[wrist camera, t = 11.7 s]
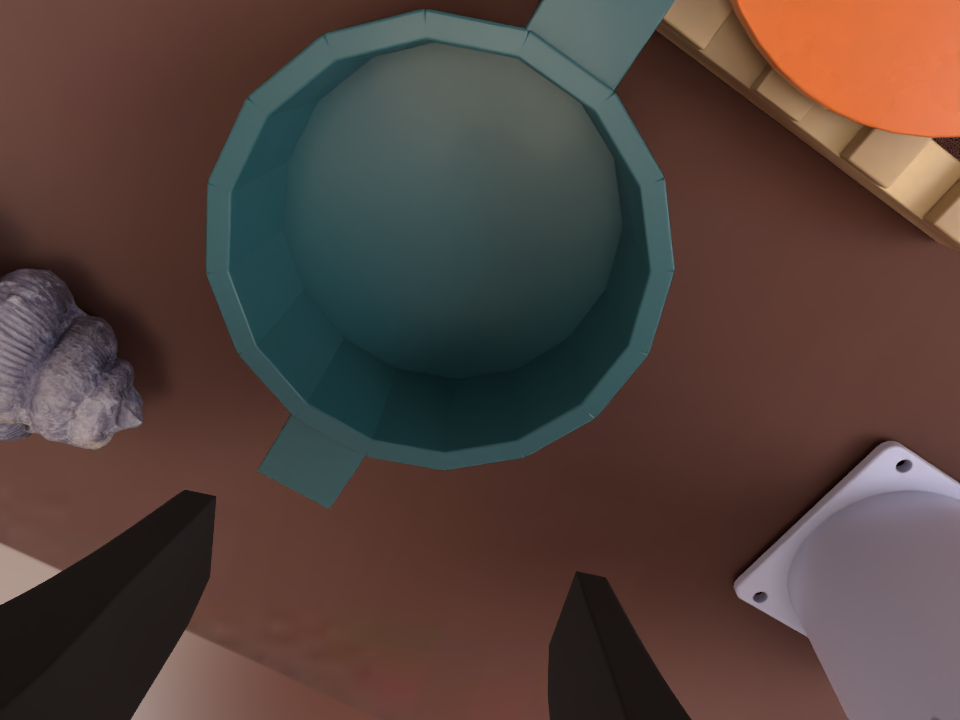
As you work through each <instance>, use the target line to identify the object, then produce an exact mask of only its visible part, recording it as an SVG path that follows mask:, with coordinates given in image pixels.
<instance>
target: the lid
mask: <svg viewBox="0 0 960 720" xmlns="http://www.w3.org/2000/svg"><path fill="white" fill-rule="evenodd" d="M730 2H731V5H732V7H733V9H734V12H735V14H736V16H737V18H738V19H739V21H740V23H741V24H742V26H743V28H744V29H745V31H746V33H747V35H748V36H749V38H750V40H751V41H752V43H753V45H754V46H755V47H756V48H757V49H758V51H759V52H760V53H761V54H762V56H763V57H764V58H765V59H766V61H767V62H768V63H769V64H770V65H771V67H772V68H773V69H774V70H775V71H776V72H777V73H778V74H779V75H780V76H781V77H782V78H784V79H785V80H786V81H787V82H788V83H789V84H790V85H791V86H792V87H794V88H795V89H796V90H797V91H798V92H799V93H801V94H802V95H804V96H805V97H807V98H808V99H810V100H812V101H813V102H815V103H816V104H818V105H819V106H821V107H822V108H824V109H825V110H827V111H830V112H832V113H834V114H836V115H839V116H841V117H843V118H845V119H848V120H850V121H852V122H854V123H858V124H861V125H865V126H868V127H872V128H876V129H879V130H883V131H887V132H891V133H895V134H903V135H911V136H919V137H927V138H936V137H960V0H730Z"/></svg>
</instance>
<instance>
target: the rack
mask: <svg viewBox="0 0 960 720" xmlns="http://www.w3.org/2000/svg"><path fill="white" fill-rule="evenodd" d="M656 31H657V32H659V33H660V34H661V35H663V36H664V37H665V38H667V39H668V40H669V41H671V42H672V43H673V44H675V45H676V46H677V47H679V48H680V49H681V50H683V51H684V52H685V53H687V54H688V55H689V56H691V57H692V58H693V59H695V60H696V61H697V62H699V63H700V64H701V65H703V66H704V67H705V68H707V69H708V70H709V71H710V72H712V73H713V74H714V75H716V76H717V77H718V78H720V79H721V80H722V81H724V82H725V83H726V84H728V85H729V86H730V87H732V88H733V89H734V90H736V91H737V92H738V93H740V94H741V95H742V96H744V97H745V98H746V99H748V100H749V101H750V102H752V103H753V104H754V105H756V106H757V107H758V108H760V109H761V110H762V111H764V112H765V113H766V114H768V115H769V116H770V117H772V118H773V119H774V120H776V121H777V122H778V123H780V124H781V125H782V126H784V127H785V128H786V129H788V130H789V131H790V132H792V133H793V134H794V135H796V136H797V137H798V138H799V139H801V140H802V141H803V142H805V143H806V144H807V145H809V146H810V147H811V148H813V149H814V150H815V151H817V152H818V153H819V154H821V155H822V156H823V157H825V158H826V159H827V160H829V161H830V162H831V163H833V164H834V165H835V166H837V167H838V168H839V169H841V170H842V171H843V172H845V173H846V174H847V175H849V176H850V177H851V178H853V179H854V180H855V181H857V182H858V183H859V184H861V185H862V186H863V187H865V188H866V189H867V190H869V191H870V192H871V193H873V194H874V195H875V196H877V197H878V198H879V199H881V200H882V201H883V202H885V203H886V204H887V205H888V206H890V207H891V208H892V209H894V210H895V211H896V212H898V213H899V214H900V215H902V216H903V217H904V218H906V219H907V220H908V221H910V222H911V223H912V224H914V225H915V226H916V227H918V228H919V229H920V230H922V231H923V232H924V233H926V234H927V235H928V236H930V237H931V238H932V239H934V240H935V241H936V242H938V243H940V244H942V245H944V246H946V247H948V248H950V249H952V250H954V251H956V252H958V253H960V161H959V160H957V159H956V158H955V157H953V156H952V155H951V154H950V153H948V152H947V151H946V150H945V149H943V148H942V147H941V146H940V145H938V144H937V143H936V142H934V141H933V140H932V138H927V137H919V136H911V135H903V134H895V133H891V132H887V131H883V130H879V129H876V128H872V127H868V126H865V125H861V124H858V123H854V122H852V121H850V120H848V119H845V118H843V117H841V116H839V115H836V114H834V113H832V112H830V111H827V110H825V109H824V108H822V107H821V106H819V105H818V104H816V103H815V102H813V101H812V100H810V99H808V98H807V97H805V96H804V95H802V94H801V93H799V92H798V91H797V90H796V89H795V88H794V87H792V86H791V85H790V84H789V83H788V82H787V81H786V80H785V79H784V78H782V77H781V76H780V75H779V74H778V73H777V72H776V71H775V70H774V69H773V68H772V67H771V65H770V64H769V63H768V62H767V61H766V59H765V58H764V57H763V56H762V54H761V53H760V52H759V51H758V49H757V48H756V47H755V46H754V45H753V43H752V41H751V40H750V38H749V36H748V35H747V33H746V31H745V29H744V28H743V26H742V24H741V23H740V21H739V19H738V18H737V16H736V14H735V12H734V9H733V7H732V5H731V2H730V0H675V2H674V3H673V5H672V6H671V7H670V9H669V10H668V12H667V13H666V15H665V16H664V18H663V19H662V21H661V22H660V24H659V25H658V27H657V28H656Z"/></svg>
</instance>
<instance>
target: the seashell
mask: <svg viewBox="0 0 960 720" xmlns="http://www.w3.org/2000/svg"><path fill="white" fill-rule="evenodd" d="M117 348H118V346H117V340H116V336H115V333H114V331H113V329H112V327H111V325H109V324H108V323H107V322H106V321H105V320H104V319H103V318H100V317H94V316H89V315H87V314H86V313H85V312H83V311H82V310H81V309H79V308H78V307H77V306H76V304H75V302H74V297H73V295H72V293H71V292H70V290H69V288H68V287H67V285H66V284H65V282H64V281H63V280H62V279H60V278H59V277H58V276H57V275H55V274H54V273H52V272H51V271H50V270H40V269H27V268H26V269H25V268H22V269H18V270H16V271H13V272H10V273H7V274H6V275H4V276H3V277H1V278H0V440H1V441H10V440H18V439H23V438H27V437H28V436H30V435H31V434H32V433H39V434H40V435H42V436H43V437H44V438H45V439H47V440H50V441H57V442H62V443H65V444H72V445H73V446H76V447H81V448H86V449H95V450H97V449H100V448H102V447H104V446H105V445H107V444H108V443H109V442H110V441H111V439H112V437H113V435H114V434H115V433H116V432H118V431H120V430H125V429H129V428H134V427H139V426H140V425H141V424H142V423H143V414H142V411H141V408H142V405H143V399H142V397H141V396H140V394H139V392H138V391H137V390H136V389H135V388H134V386H133V380H134V371H133V367H132V366H131V364H130V363H129V362H128V361H126V360H123V359H119V358H118V357H117V356H116V354H117Z"/></svg>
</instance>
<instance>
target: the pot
mask: <svg viewBox="0 0 960 720" xmlns="http://www.w3.org/2000/svg"><path fill="white" fill-rule="evenodd" d="M674 2H675V0H541V2H540V3H539V5H538V7H537V8H536V10H535V12H534V13H533V15H532V17H531V18H530V20H529V22H528V23H527V25H526V26H525V28H522V27H517V26H512V25H507V24H502V23H497V22H492V21H487V20H482V19H477V18H472V17H467V16H462V15H457V14H452V13H447V12H442V11H437V10H432V9H425V10H424V9H419V10H415V11H411V12H407V13H403V14H398V15H394V16H390V17H386V18H382V19H378V20H374V21H370V22H366V23H362V24H358V25H354V26H350V27H346V28H342V29H338V30H334V31H330V32H326V33H325V34H324V35H321V36H319V37H318V38H317V39H316V40H315V41H313V42H312V43H311V44H310V45H308V46H307V47H306V48H305V49H304V50H302V51H301V52H300V53H299V54H298V55H296V56H295V57H294V58H293V59H292V60H290V61H289V62H288V63H287V64H286V65H284V66H283V67H282V68H281V69H280V70H278V71H277V72H276V73H275V74H273V75H272V76H271V77H270V78H269V79H267V80H266V81H265V82H264V83H263V84H261V85H260V86H259V87H258V88H257V89H255V90H254V91H253V92H252V93H251V94H249V96H248V98H247V99H245V101H244V104H243V106H242V108H241V110H240V112H239V114H238V117H237V119H236V121H235V123H234V125H233V127H232V129H231V132H230V134H229V136H228V138H227V140H226V142H225V145H224V147H223V149H222V151H221V153H220V155H219V157H218V160H217V162H216V164H215V166H214V168H213V170H212V172H211V175H210V177H209V179H208V184H207V222H206V272H207V278H208V280H209V283H210V285H211V288H212V291H213V293H214V296H215V298H216V301H217V303H218V306H219V308H220V311H221V313H222V316H223V319H224V321H225V324H226V326H227V329H228V331H229V334H230V336H231V339H232V342H233V344H234V347H235V349H236V352H237V353H239V356H240V357H241V358H242V359H243V361H244V362H245V363H246V364H247V365H248V366H249V367H250V368H251V369H252V371H253V372H254V373H255V374H256V375H257V376H258V377H259V378H260V380H261V381H262V382H263V383H264V384H265V385H266V386H267V387H268V388H269V390H270V391H271V392H272V393H273V394H274V395H275V396H276V397H277V398H278V400H279V401H280V402H281V403H282V404H283V405H284V406H285V407H286V409H287V410H288V411H289V412H290V413H291V415H290V417H289V418H288V420H287V421H286V423H285V425H284V426H283V428H282V430H281V431H280V433H279V435H278V436H277V438H276V440H275V441H274V443H273V445H272V446H271V448H270V450H269V451H268V453H267V455H266V456H265V458H264V460H263V461H262V463H261V465H260V466H259V468H258V472H260V473H262V474H264V475H266V476H268V477H270V478H272V479H273V480H275V481H277V482H279V483H281V484H283V485H285V486H287V487H289V488H291V489H292V490H294V491H296V492H298V493H300V494H302V495H304V496H306V497H308V498H309V499H311V500H313V501H315V502H317V503H319V504H321V505H323V506H325V507H327V508H330V507H331V506H332V504H333V503H334V501H335V500H336V498H337V497H338V495H339V494H340V493H341V491H342V490H343V488H344V487H345V485H346V484H347V482H348V481H349V479H350V478H351V476H352V475H353V473H354V472H355V471H356V469H357V468H358V466H359V465H360V463H361V462H362V460H363V459H364V457H365V456H367V457H371V458H376V459H382V460H388V461H393V462H399V463H405V464H410V465H416V466H422V467H427V468H433V469H439V470H445V469H446V470H451V469H457V468H464V467H470V466H476V465H482V464H488V463H495V462H501V461H507V460H513V459H520V458H523V457H524V456H525V457H527V456H529V455H530V454H532V453H534V452H536V451H538V450H539V449H541V448H543V447H545V446H547V445H548V444H550V443H552V442H554V441H556V440H557V439H559V438H561V437H563V436H565V435H566V434H568V433H570V432H572V431H574V430H575V429H577V428H579V427H581V426H583V425H584V424H586V423H588V422H590V421H592V420H593V419H594V418H595V417H597V416H598V415H599V414H600V412H601V411H602V410H603V409H604V408H605V406H606V405H607V404H608V403H609V402H610V400H611V399H612V398H613V397H614V396H615V394H616V393H617V392H618V391H619V390H620V388H621V387H622V386H623V385H624V383H625V382H626V381H627V380H628V379H629V377H630V376H631V375H632V374H633V373H634V371H635V370H636V369H637V368H638V367H639V365H640V364H641V363H642V362H643V361H644V359H645V358H646V357H647V355H648V353H649V352H650V349H651V346H652V343H653V339H654V336H655V333H656V330H657V327H658V323H659V320H660V317H661V314H662V310H663V307H664V304H665V301H666V298H667V294H668V291H669V288H670V285H671V281H672V278H673V275H674V269H675V265H674V256H673V246H672V237H671V228H670V219H669V209H668V200H667V191H666V181H665V179H664V178H663V177H664V176H663V173H662V171H661V170H660V168H659V166H658V164H657V163H656V161H655V159H654V158H653V156H652V154H651V152H650V151H649V149H648V147H647V145H646V144H645V142H644V140H643V139H642V137H641V135H640V133H639V132H638V130H637V128H636V126H635V125H634V123H633V121H632V120H631V118H630V116H629V114H628V113H627V111H626V109H625V107H624V106H623V104H622V102H621V100H620V99H619V97H618V95H617V94H616V93H615V92H613V91H614V90H615V88H616V87H617V85H618V84H619V82H620V81H621V79H622V78H623V77H624V75H625V74H626V72H627V71H628V69H629V68H630V66H631V65H632V63H633V62H634V60H635V59H636V57H637V56H638V54H639V53H640V52H641V50H642V49H643V47H644V46H645V44H646V43H647V41H648V40H649V38H650V37H651V35H652V34H653V32H654V31H655V30H656V28H657V27H658V25H659V24H660V22H661V21H662V19H663V18H664V16H665V15H666V13H667V12H668V10H669V9H670V7H671V6H672V5H673V3H674Z"/></svg>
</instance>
